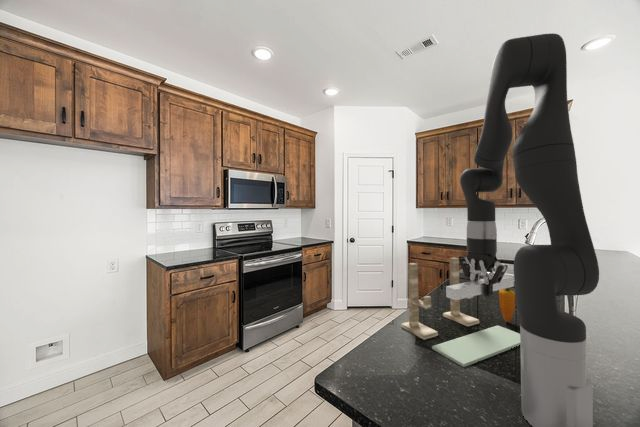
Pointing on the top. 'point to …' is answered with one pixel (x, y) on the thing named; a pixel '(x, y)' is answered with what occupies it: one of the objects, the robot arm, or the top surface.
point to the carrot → (507, 303)
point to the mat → (478, 345)
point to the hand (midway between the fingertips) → (481, 294)
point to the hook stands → (414, 303)
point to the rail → (476, 288)
